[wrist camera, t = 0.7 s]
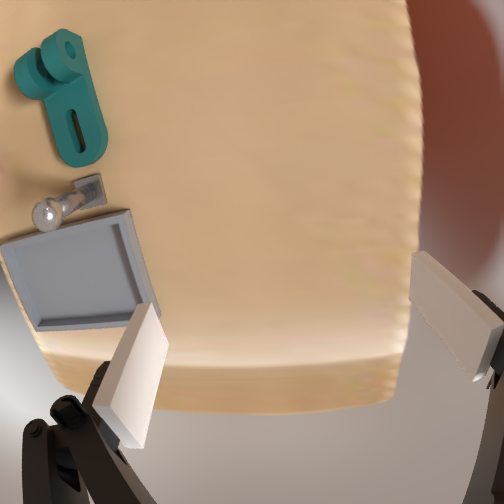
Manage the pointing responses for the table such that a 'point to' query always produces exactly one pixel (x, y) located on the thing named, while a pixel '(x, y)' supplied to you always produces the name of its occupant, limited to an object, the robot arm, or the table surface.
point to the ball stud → (68, 203)
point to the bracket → (65, 95)
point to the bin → (81, 274)
